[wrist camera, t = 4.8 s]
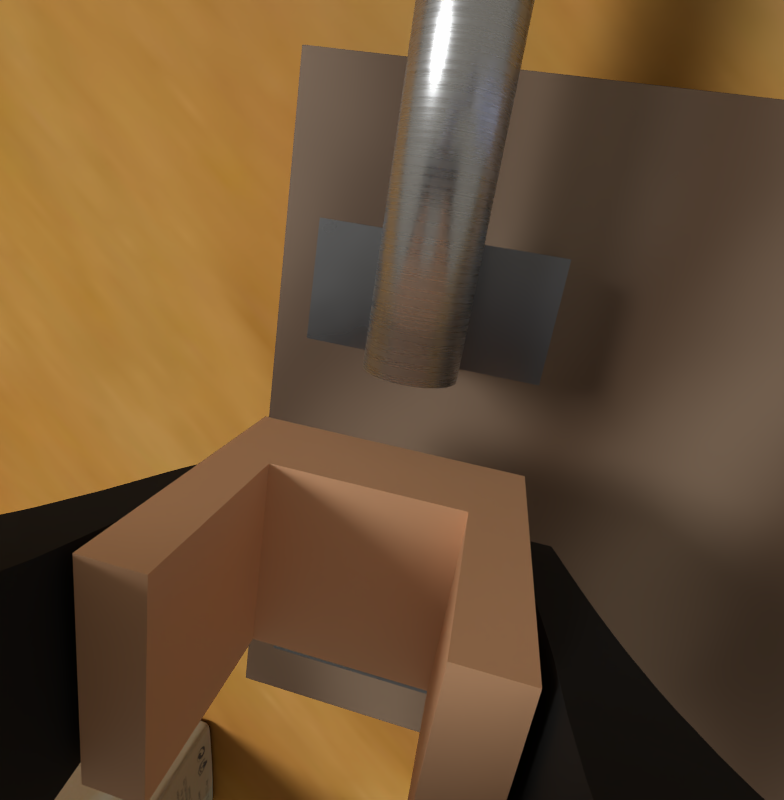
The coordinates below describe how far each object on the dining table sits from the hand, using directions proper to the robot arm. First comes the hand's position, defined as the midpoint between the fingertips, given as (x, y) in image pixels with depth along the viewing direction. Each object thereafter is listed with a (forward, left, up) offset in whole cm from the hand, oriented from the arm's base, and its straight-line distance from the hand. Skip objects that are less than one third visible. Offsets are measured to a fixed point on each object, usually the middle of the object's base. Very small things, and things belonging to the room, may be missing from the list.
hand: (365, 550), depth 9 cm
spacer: (0, 0, -1) cm, 1 cm away
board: (-4, 0, -6) cm, 7 cm away
